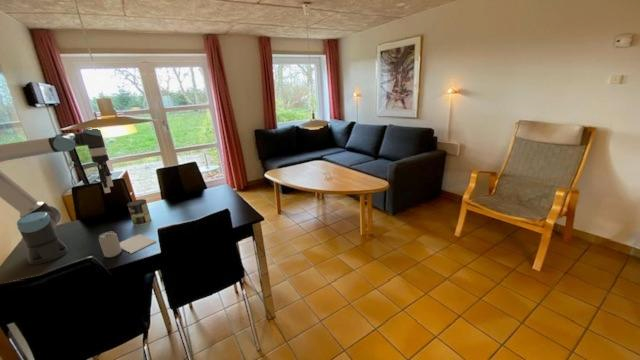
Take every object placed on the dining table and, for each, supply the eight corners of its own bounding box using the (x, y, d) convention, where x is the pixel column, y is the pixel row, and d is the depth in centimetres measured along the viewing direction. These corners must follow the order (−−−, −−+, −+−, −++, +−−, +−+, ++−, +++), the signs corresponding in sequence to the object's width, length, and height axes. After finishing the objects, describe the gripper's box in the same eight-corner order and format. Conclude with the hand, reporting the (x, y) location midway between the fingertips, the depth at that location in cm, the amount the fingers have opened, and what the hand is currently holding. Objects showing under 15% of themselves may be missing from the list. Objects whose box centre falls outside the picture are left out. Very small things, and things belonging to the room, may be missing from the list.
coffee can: (138, 227, 169) (132, 206, 165) (130, 223, 175) (124, 203, 170) (154, 220, 178) (149, 200, 173) (146, 217, 183) (141, 198, 178)
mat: (131, 254, 140) (131, 253, 140) (115, 245, 149) (115, 244, 149) (156, 241, 150) (156, 241, 150) (139, 234, 160) (139, 233, 159)
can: (113, 258, 137) (105, 238, 133) (101, 257, 138) (93, 237, 134) (125, 250, 144) (119, 230, 140) (114, 249, 145) (107, 230, 141)
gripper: (104, 157, 146) (114, 194, 152) (109, 150, 166) (119, 182, 173) (86, 159, 142) (98, 196, 149) (94, 152, 163) (104, 185, 169)
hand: (109, 189), depth 161 cm, fingers open, 13 cm apart
